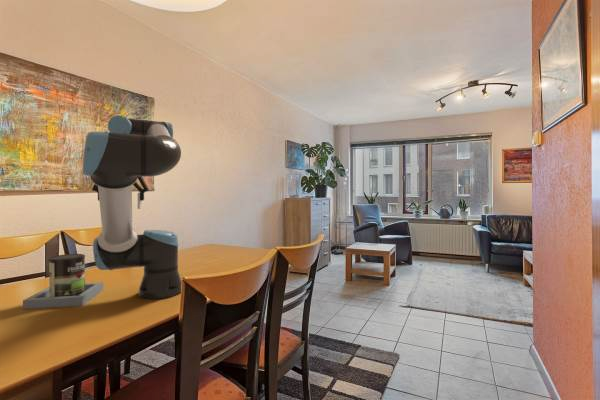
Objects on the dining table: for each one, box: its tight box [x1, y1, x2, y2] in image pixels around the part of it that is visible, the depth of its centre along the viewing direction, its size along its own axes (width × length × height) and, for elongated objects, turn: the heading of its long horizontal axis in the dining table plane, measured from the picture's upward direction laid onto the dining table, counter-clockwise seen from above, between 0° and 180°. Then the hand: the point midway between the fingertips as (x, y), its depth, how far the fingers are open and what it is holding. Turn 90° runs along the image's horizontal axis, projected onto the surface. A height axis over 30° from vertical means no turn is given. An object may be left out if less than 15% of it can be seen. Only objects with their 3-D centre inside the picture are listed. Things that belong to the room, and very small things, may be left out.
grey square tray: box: [22, 281, 104, 310], centre depth 110 cm, size 17×17×3 cm
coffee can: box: [47, 253, 86, 297], centre depth 110 cm, size 10×10×14 cm
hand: (121, 208), depth 127 cm, fingers open, 13 cm apart
